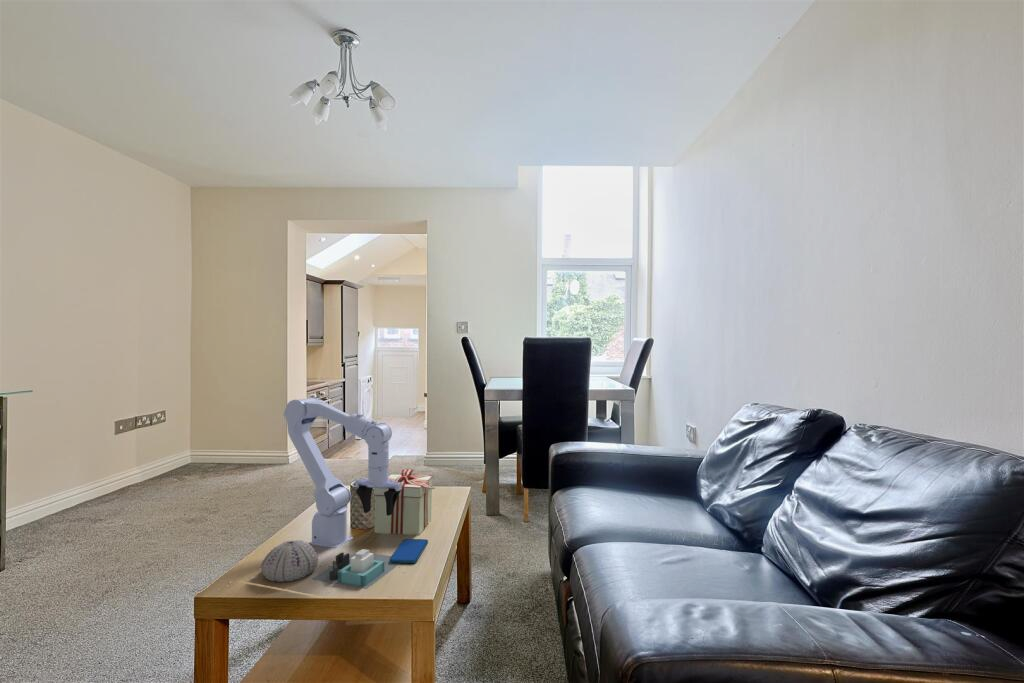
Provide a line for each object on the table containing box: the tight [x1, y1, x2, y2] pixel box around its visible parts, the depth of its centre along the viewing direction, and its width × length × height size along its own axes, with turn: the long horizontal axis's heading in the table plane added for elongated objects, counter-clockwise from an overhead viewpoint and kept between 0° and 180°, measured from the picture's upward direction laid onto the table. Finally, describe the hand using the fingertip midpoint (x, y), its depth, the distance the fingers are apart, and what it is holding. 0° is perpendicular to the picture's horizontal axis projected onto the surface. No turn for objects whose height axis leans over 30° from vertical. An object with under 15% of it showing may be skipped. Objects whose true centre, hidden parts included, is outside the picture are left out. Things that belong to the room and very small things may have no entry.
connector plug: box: [351, 548, 375, 574], centre depth 124 cm, size 4×4×6 cm
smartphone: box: [390, 538, 429, 564], centre depth 138 cm, size 7×1×15 cm
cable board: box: [311, 550, 401, 590], centre depth 128 cm, size 16×18×4 cm
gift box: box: [373, 469, 436, 536], centre depth 160 cm, size 17×18×17 cm
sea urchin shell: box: [260, 539, 319, 583], centre depth 126 cm, size 13×14×8 cm
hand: (378, 513), depth 144 cm, fingers open, 7 cm apart
